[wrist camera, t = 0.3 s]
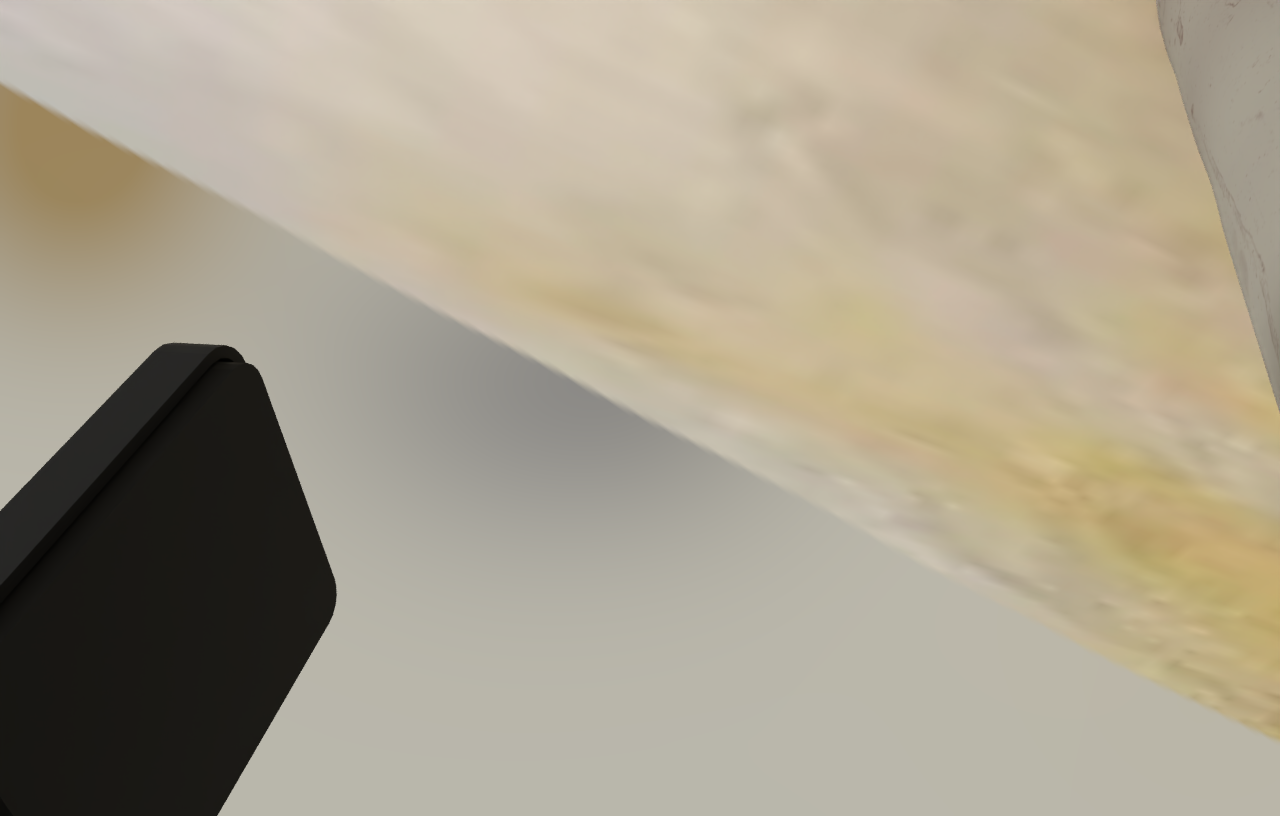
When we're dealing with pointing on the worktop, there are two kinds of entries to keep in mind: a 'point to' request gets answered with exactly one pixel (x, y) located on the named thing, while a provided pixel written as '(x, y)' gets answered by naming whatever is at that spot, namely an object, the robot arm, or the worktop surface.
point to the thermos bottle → (1237, 137)
